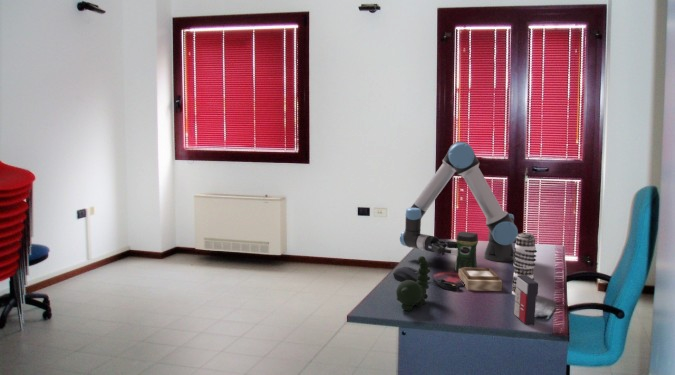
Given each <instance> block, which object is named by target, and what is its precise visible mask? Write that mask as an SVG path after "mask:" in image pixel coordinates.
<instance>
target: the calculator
mask: <svg viewBox="0 0 675 375" xmlns="http://www.w3.org/2000/svg"><path fill="white" fill-rule="evenodd" d="M516 287H517V288H516V291H515V295H514V312H513V314H514V315H515V316H516V317H517V318H518V319H519V320H520V321H522V323H524V324H525V325H527V326H528V325H532V326H533V325H535V317H536V305H537V304H536V303H537V302H536V301H537V295H538V294H539V282H537V281H536V280H535V279H534V280H533V279H531V278H530V277H529V276H527V275H518V276H517V283H516Z"/></svg>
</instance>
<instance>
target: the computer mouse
mask: <svg viewBox="0 0 675 375" xmlns="http://www.w3.org/2000/svg"><path fill="white" fill-rule="evenodd" d="M418 270H419V269H416V268H412V267H409V266H401V267H398V268H396V269H395V270H394V271H393V273H392V275H393V277H394V279H395V280H396V281H398V282H400V283H402V282H403V281H406V280H412V281H415V282H417V276H418V274H419V271H418ZM427 283H428V284H429V283H431V284H437V285H438V286H440V287H441V288H442V289H445V290H446V291H450V292H457V291H460V287H461V284H459V283H456V282H451V281H449V280H445V279H438V280H437V282H435V281H427Z"/></svg>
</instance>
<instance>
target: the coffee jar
mask: <svg viewBox="0 0 675 375" xmlns="http://www.w3.org/2000/svg"><path fill="white" fill-rule="evenodd" d="M455 242H457V246H458V248H457V250H458V256H456V259H455V260H456V262H455V267H454V269H455V272H457V273H459V269H461V268H463V267H466V268H478V264H477V261H478V260H477V246H478V244H479V243H478V242H479V237H478V233H476V232H469V231H459V232H458V233H457V236H456V241H455Z"/></svg>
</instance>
